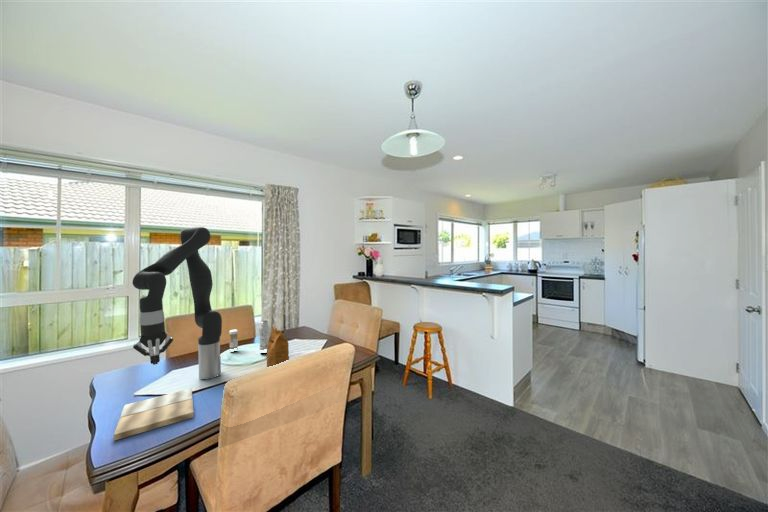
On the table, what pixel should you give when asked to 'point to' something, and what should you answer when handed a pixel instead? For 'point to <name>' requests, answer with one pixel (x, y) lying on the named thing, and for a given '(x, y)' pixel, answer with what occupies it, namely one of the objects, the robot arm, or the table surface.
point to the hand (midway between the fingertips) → (155, 363)
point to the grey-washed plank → (156, 402)
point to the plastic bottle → (264, 335)
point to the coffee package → (277, 348)
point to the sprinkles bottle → (233, 339)
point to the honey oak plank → (153, 419)
